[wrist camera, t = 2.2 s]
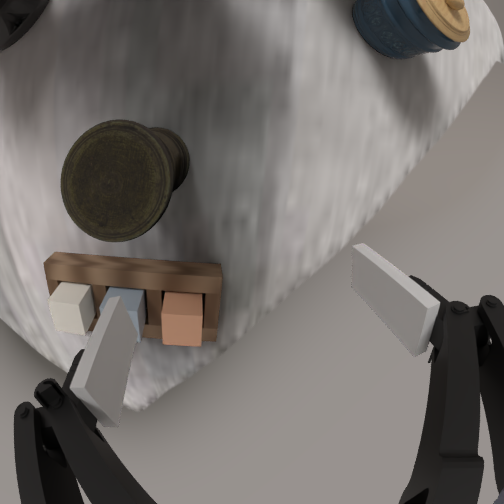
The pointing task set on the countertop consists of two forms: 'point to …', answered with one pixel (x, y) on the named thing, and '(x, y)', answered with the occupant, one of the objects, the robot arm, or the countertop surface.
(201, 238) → the countertop surface
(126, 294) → the slate key
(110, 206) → the container
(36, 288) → the countertop surface
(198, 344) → the terracotta key
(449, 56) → the countertop surface
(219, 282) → the key panel
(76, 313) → the ivory key
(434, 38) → the canister
